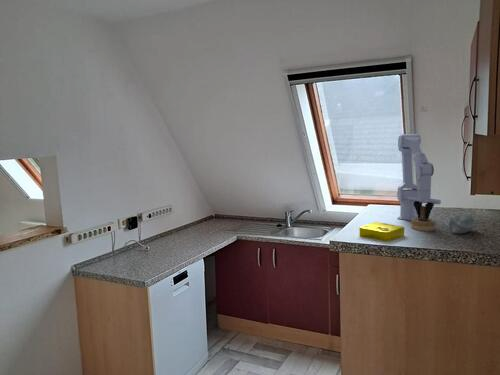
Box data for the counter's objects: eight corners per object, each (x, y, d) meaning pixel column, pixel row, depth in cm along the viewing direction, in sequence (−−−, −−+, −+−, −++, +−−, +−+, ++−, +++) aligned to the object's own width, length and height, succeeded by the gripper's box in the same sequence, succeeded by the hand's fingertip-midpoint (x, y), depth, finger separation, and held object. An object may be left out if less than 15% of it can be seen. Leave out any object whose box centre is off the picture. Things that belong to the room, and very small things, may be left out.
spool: (454, 220, 196) (463, 204, 190) (473, 231, 191) (483, 215, 184) (440, 231, 188) (448, 215, 182) (459, 244, 183) (469, 227, 177)
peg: (421, 222, 197) (421, 205, 196) (427, 223, 195) (428, 206, 194) (418, 223, 195) (419, 206, 194) (425, 224, 193) (425, 207, 192)
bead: (416, 224, 202) (416, 216, 202) (437, 227, 196) (437, 219, 195) (408, 228, 195) (408, 220, 195) (429, 231, 188) (430, 223, 188)
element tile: (406, 236, 183) (406, 225, 183) (387, 242, 174) (387, 231, 173) (376, 230, 195) (376, 220, 194) (357, 236, 185) (357, 226, 184)
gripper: (405, 189, 195) (404, 217, 197) (437, 191, 185) (436, 221, 187) (411, 187, 200) (410, 215, 202) (442, 189, 190) (441, 218, 192)
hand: (423, 218), depth 195 cm, fingers open, 3 cm apart
